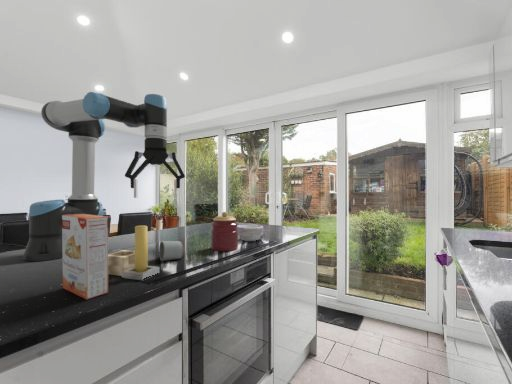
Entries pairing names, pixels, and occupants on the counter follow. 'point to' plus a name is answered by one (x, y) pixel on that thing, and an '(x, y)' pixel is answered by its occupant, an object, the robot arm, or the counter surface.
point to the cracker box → (85, 254)
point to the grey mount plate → (140, 273)
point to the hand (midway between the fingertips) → (156, 197)
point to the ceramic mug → (170, 250)
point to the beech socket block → (120, 261)
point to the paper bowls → (250, 232)
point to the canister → (224, 233)
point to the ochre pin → (141, 248)
